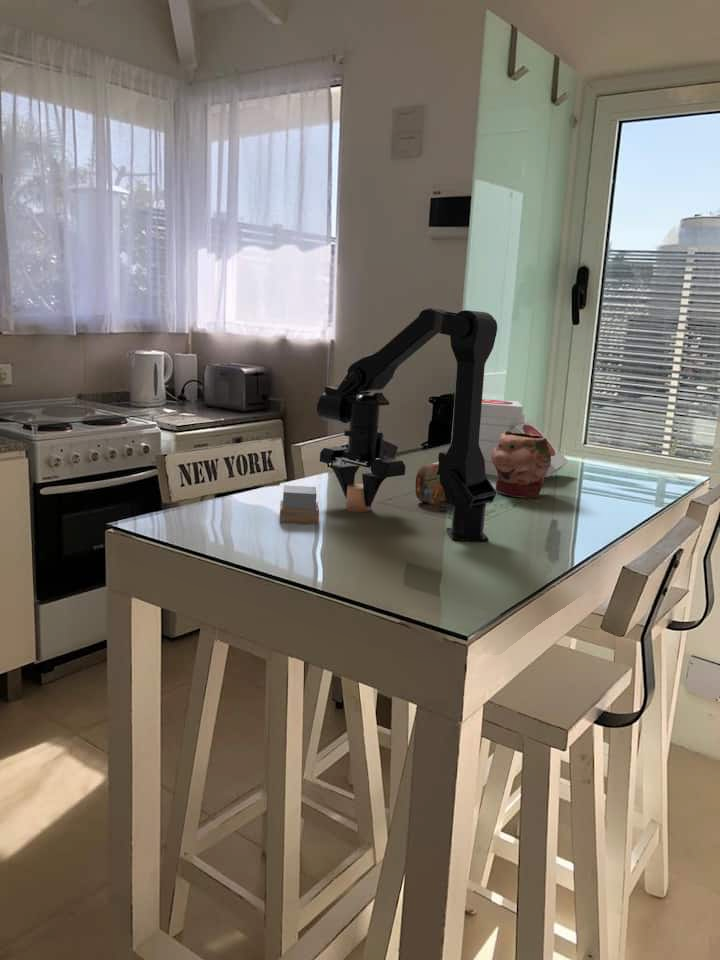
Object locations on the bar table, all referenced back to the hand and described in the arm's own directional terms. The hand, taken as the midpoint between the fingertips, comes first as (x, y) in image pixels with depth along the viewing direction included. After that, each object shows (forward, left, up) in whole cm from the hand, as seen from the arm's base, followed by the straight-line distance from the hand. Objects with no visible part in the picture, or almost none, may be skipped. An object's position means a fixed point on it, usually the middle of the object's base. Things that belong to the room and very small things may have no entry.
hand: (358, 503), depth 158 cm
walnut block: (-10, +12, -1) cm, 16 cm away
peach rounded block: (0, 0, -1) cm, 1 cm away
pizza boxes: (+49, -44, -1) cm, 66 cm away
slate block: (-10, +12, +2) cm, 16 cm away
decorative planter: (+22, -40, -1) cm, 46 cm away
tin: (+11, -18, -1) cm, 21 cm away
